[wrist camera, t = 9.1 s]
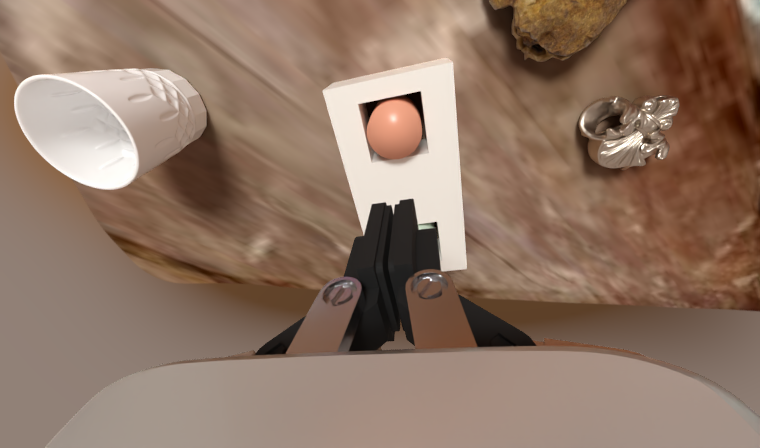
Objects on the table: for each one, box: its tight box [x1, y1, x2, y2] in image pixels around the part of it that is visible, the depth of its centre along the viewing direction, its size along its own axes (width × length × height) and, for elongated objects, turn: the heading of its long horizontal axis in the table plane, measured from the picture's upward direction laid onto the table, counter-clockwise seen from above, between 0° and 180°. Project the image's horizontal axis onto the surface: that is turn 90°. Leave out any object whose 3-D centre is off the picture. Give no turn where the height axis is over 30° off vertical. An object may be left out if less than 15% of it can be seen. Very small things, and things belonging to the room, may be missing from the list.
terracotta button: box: [367, 95, 422, 159], centre depth 25 cm, size 4×4×4 cm
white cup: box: [14, 68, 207, 190], centre depth 25 cm, size 8×8×10 cm
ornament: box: [579, 95, 679, 170], centre depth 26 cm, size 8×7×4 cm
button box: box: [323, 58, 467, 271], centre depth 29 cm, size 10×20×4 cm, turn 12°
